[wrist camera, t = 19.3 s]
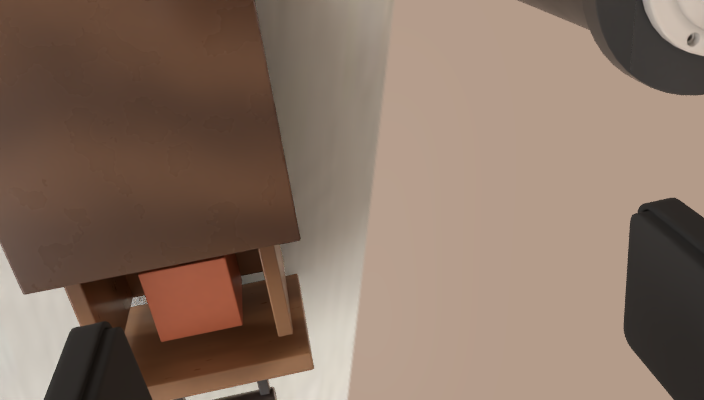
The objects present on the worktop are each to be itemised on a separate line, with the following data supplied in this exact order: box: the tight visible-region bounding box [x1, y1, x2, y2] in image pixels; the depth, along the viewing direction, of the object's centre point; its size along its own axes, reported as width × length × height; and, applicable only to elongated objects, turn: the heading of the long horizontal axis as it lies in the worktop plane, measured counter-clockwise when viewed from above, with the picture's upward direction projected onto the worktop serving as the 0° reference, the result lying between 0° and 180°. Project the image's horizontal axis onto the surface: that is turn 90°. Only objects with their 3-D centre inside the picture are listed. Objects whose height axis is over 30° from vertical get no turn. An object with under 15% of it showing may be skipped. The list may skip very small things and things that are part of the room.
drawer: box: [64, 244, 314, 400], centre depth 35 cm, size 18×11×8 cm, turn 7°
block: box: [138, 253, 243, 342], centre depth 35 cm, size 4×4×4 cm
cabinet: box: [0, 0, 300, 294], centre depth 30 cm, size 15×13×10 cm
